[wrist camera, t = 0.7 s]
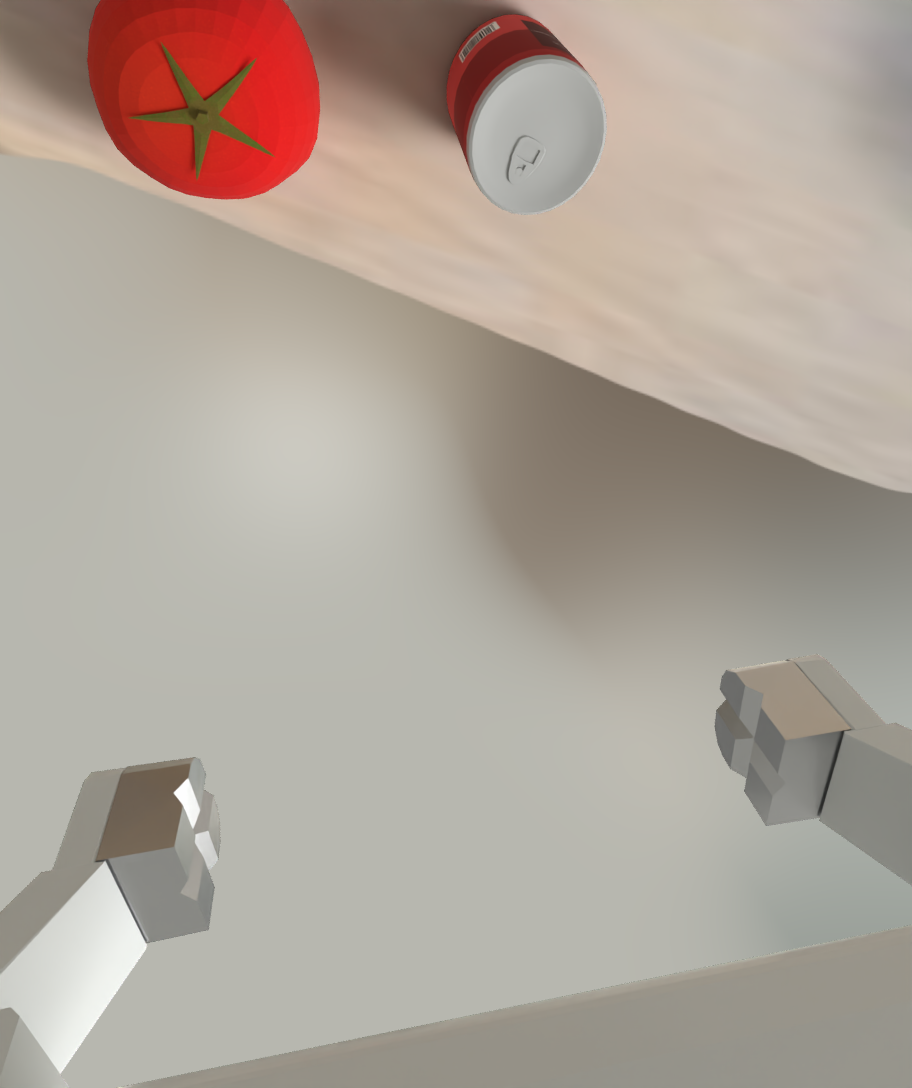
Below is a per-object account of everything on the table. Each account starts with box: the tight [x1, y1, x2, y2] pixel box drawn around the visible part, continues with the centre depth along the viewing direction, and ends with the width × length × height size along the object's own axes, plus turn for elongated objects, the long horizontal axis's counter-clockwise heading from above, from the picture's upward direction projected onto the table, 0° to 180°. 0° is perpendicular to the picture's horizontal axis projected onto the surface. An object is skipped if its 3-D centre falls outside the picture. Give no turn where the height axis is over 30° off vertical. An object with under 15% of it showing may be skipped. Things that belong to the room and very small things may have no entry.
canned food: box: [447, 14, 607, 215], centre depth 44 cm, size 8×8×11 cm
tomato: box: [87, 0, 320, 199], centre depth 41 cm, size 11×12×10 cm
